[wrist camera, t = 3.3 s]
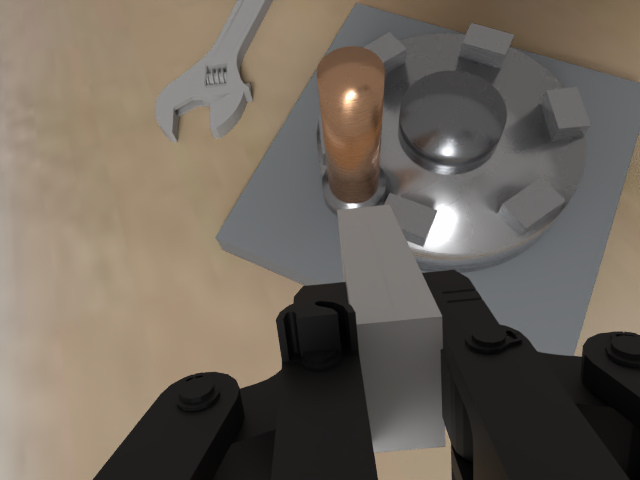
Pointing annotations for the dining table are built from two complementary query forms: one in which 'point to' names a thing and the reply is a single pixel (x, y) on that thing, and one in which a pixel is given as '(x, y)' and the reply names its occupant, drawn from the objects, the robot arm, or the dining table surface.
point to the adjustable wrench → (215, 76)
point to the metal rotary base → (450, 143)
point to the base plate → (491, 283)
